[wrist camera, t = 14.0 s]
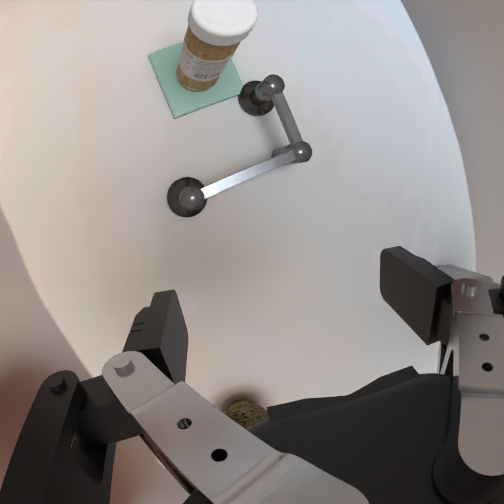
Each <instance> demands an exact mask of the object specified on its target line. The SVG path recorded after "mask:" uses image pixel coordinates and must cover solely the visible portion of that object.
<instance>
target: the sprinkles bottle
mask: <svg viewBox="0 0 504 504" xmlns="http://www.w3.org/2000/svg"><path fill="white" fill-rule="evenodd" d="M257 17H258V12H257V7H256V5H255V3H254V2H253V0H194V1H193V2H192V5H191V8H190V11H189V15H188V24H189V25H188V29H187V32H186V34H185V38H184V43H183V47H182V51H181V55H180V60H179V65H178V67H177V79H178V81H179V82H180V84H181V85H182V86H183V87H185V88H187V89H188V90H191V91H204V90H207V89H210V88H211V87H212V86H214V85H215V84H216V82H217V81H218V79H219V75H220V74H221V73H222V72H223V70H224V68H225V67H226V65H227V64H228V62H229V61H230V59H231V58H232V56H233V54H234V52H235V50H236V48H237V47H238V45H239V44H240V42H241V41H242V40H243V39H245V38H246V37H247V36H248V34H249V33H250V31H251V30H252V28H253V27H254V25H255V23H256V21H257Z"/></svg>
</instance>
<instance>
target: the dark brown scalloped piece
mask: <svg viewBox="0 0 504 504" xmlns="http://www.w3.org/2000/svg"><path fill="white" fill-rule="evenodd" d="M226 415H227V416H228V417H229V418H231V419H232V420H233V421H235V422H236V423H237V424H239V425H240V426H242V427H243V428H244V429H246V430H247V429H249V428H250V427H252V426H254V425H255V424H257V423H259V422H261V421H263V420H266V419H268V418H269V417H268V412H267V410H265V409H264V408H263V407H261V406H259V405H256V404H251V403H250V402H248V401H245V400H239V401H235V402H233V403H232V404H231V405H230V406H229V407H228V410H227V414H226Z"/></svg>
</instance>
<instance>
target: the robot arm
mask: <svg viewBox="0 0 504 504" xmlns="http://www.w3.org/2000/svg"><path fill="white" fill-rule="evenodd" d="M380 291H381V295H382V297H383V299H384V300H385V301H386V302H387V303H388V304H389V305H390V306H391V308H392V309H393V310H394V311H395V312H396V313H397V314H398V315H399V316H400V317H401V318H402V319H403V320H404V321H405V322H406V323H407V324H408V325H409V326H410V327H411V329H412V330H413V331H414V332H415V333H416V334H417V335H418V336H419V337H420V338H421V339H422V340H423V341H424V343H425V344H426V345H429V344H432V343H434V342H437V341H440V342H441V343H440V347H439V354H438V367H437V374H433V373H428V374H418V373H417V371H416V370H415V369H414V368H413V366H409V367H407V368H404V369H401V370H399V371H396V372H393V373H390V374H387V375H385V376H382V377H380V378H378V379H376V380H375V381H373V382H371V383H369V384H368V385H366V386H364V387H363V388H361V389H359V390H357V391H355V392H354V393H352V394H350V395H346V396H337V397H324V398H308V399H302V400H298V401H294V402H289V403H285V404H280V405H275V406H270V407H267V412H268V417H269V418H268V419H266V420H263V421H261V422H259V423H257V424H255V425H254V426H252V427H250V428H249V429H247V430H246V429H244V428H243V427H242V426H240V425H239V424H237V423H236V422H235V421H233V420H232V419H231V418H229V417H228V416H227V415H225V414H224V413H223V412H221V411H220V410H219V409H217V408H216V407H215V406H214V405H212V404H211V403H210V402H208V401H207V400H206V399H205V398H203V397H202V396H201V395H200V394H199V393H197V392H196V391H195V390H194V389H192V388H191V387H190V386H189V385H188V384H186V383H185V375H186V362H187V350H188V332H187V327H186V324H185V320H184V317H183V314H182V310H181V307H180V304H179V300H178V297H177V294H176V291H175V290H168V291H162V292H156V293H154V296H153V299H152V302H151V305H150V307H144V308H143V309H142V310H141V311H140V312H139V313H138V314H137V315H136V316H135V319H134V322H133V326H132V327H131V330H130V333H129V335H128V338H127V340H126V343H125V346H124V349H123V352H122V353H119V354H117V355H115V356H113V357H112V358H110V359H109V360H108V361H107V362H106V363H105V364H104V366H103V369H102V375H101V376H98V377H95V378H91V379H88V380H85V381H81V382H80V380H79V379H78V377H77V375H76V374H75V373H74V372H72V371H68V370H64V371H59V372H56V373H54V374H52V375H51V376H49V377H48V378H46V379H45V381H44V382H43V383H42V385H41V386H40V389H39V391H38V393H37V395H36V397H35V399H34V402H33V404H32V406H31V409H30V411H29V413H28V416H27V418H26V420H25V423H24V425H23V428H22V430H21V433H20V435H19V438H18V441H17V443H16V446H15V448H14V451H13V454H12V457H11V459H10V463H9V465H8V468H7V472H6V475H5V477H4V481H3V484H2V487H1V491H0V504H109V501H110V491H111V481H112V472H113V464H114V456H115V449H116V442H118V441H121V440H125V439H128V438H131V437H135V436H138V435H139V436H140V437H141V439H142V440H143V441H144V442H145V444H146V445H147V446H148V448H149V449H150V450H151V451H152V452H153V454H154V455H155V456H156V457H157V458H158V460H159V461H160V462H161V463H162V464H163V465H164V466H165V468H166V469H167V470H168V471H169V472H170V473H171V474H172V476H173V477H174V478H175V479H176V480H177V482H178V483H179V484H180V485H181V486H182V487H183V488H184V489H185V490H186V492H187V493H188V494H189V495H190V496H189V497H188V499H187V500H186V501H185V502H184V503H183V504H504V276H503V277H502V280H501V285H500V284H497V283H494V282H493V279H492V278H490V277H488V276H485V275H482V274H479V273H476V272H473V271H469V270H466V269H463V268H460V267H457V266H453V265H449V266H447V267H445V266H438V267H436V266H434V265H432V264H431V263H430V262H428V261H427V260H425V259H424V258H421V257H418V256H415V255H413V254H412V253H410V252H409V251H407V250H406V249H404V248H403V247H401V246H396V247H392V248H387V249H383V250H382V252H381V256H380ZM72 440H73V443H72ZM71 444H72V447H71Z"/></svg>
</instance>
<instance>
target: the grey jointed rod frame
mask: <svg viewBox="0 0 504 504" xmlns="http://www.w3.org/2000/svg"><path fill="white" fill-rule="evenodd" d="M284 87H285V84H284V81H283V79H282V78H281V77H279V76H277V75H269V76H267V77H266V78H265V79H264V80H263V81H262V82H261V81H251V82H248V83H247V84H245V85H244V86H243V87H242V89H241V92H240V94H239V95H238V100H239V104H240V106H241V107H242V109H243V110H244V111H245V112H247V113H248V114H250V115H254V116H262V115H265V114H267V113H268V112H270V111H271V110H272V109H273V107H274V105H275V108H276V110H277V112H278V115H279V117H280V120H281V122H282V124H283V127H284V129H285V132H286V134H287V137H288V139H289V142H290V145H286V146H283V147H279V148H276V149H275V150H274V151H273V153H272V158H271V159H268V160H266V161H263V162H261V163H258V164H256V165H254V166H251V167H249V168H246V169H244V170H242V171H239V172H237V173H235V174H232V175H230V176H228V177H225V178H223V179H221V180H218V181H216V182H214V183H212V184H210V185H207V186H205V187H204V185H203V184H202V183H201V182H200V181H199V180H197V179H195V178H191V177H185V178H181V179H179V180H177V181H175V182H174V183H173V184H172V185H171V187H170V188H169V191H168V195H167V200H168V204H169V206H170V208H171V209H172V211H173V212H174V213H176V214H177V215H179V216H182V217H192V216H195V215H197V214H198V213H200V212H201V211H202V210H203V208H204V207H205V205H206V202H207V198H208V197H210V196H212V195H214V194H216V193H218V192H221V191H223V190H225V189H227V188H230V187H232V186H234V185H236V184H239V183H241V182H243V181H246V180H248V179H250V178H252V177H255V176H257V175H259V174H262V173H264V172H267V171H269V170H271V169H274V168H276V167H279V166H282V165H288V164H295V163H301V162H307V161H308V160H309V159H310V158H311V156H312V149H311V147H310V145H309V144H308V143H306V142H304V141H303V140H302V138H301V135H300V133H299V130H298V128H297V125H296V123H295V120H294V118H293V115H292V113H291V111H290V108H289V106H288V104H287V101H286V99H285V97H284V94H283V92H282V91H283V90H284ZM244 89H245V90H244ZM243 91H245V92H243ZM242 92H243V93H242Z"/></svg>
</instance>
